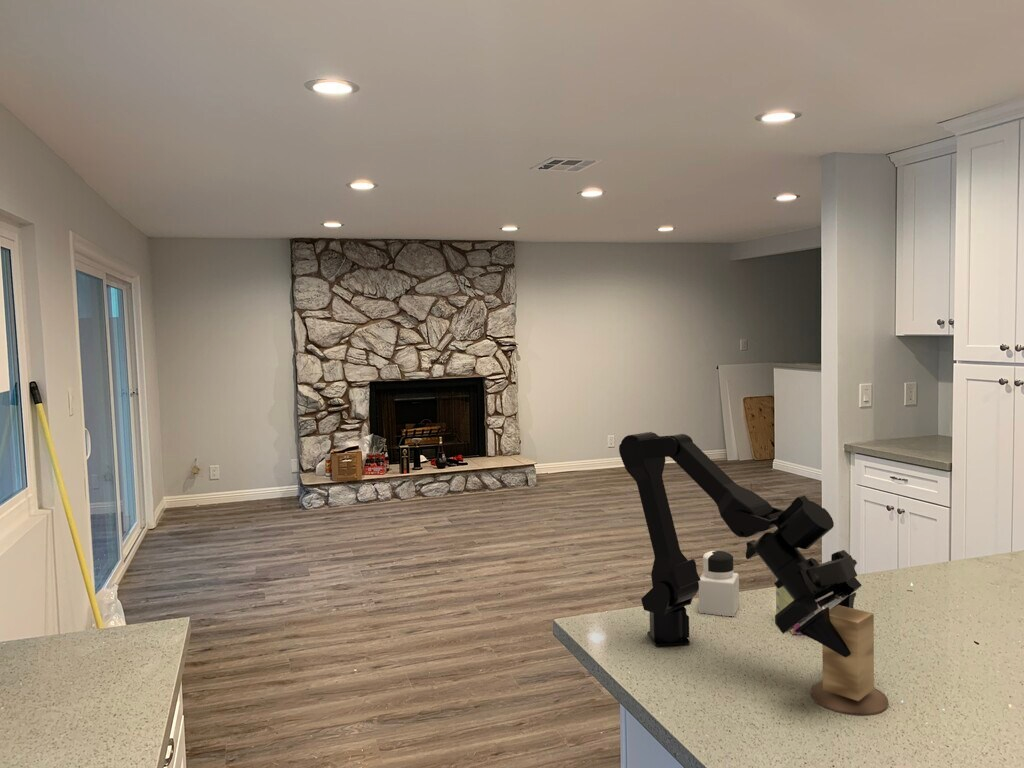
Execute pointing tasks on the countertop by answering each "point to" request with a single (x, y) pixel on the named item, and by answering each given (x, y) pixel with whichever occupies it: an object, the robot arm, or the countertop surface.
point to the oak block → (858, 668)
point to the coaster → (850, 701)
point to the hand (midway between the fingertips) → (856, 650)
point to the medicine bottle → (718, 585)
